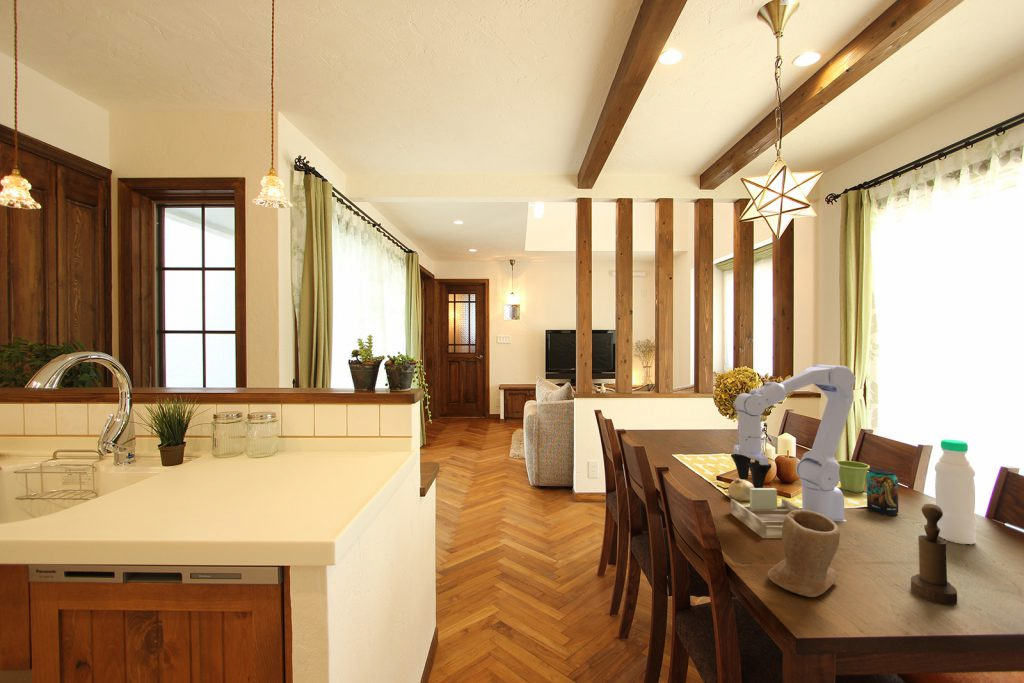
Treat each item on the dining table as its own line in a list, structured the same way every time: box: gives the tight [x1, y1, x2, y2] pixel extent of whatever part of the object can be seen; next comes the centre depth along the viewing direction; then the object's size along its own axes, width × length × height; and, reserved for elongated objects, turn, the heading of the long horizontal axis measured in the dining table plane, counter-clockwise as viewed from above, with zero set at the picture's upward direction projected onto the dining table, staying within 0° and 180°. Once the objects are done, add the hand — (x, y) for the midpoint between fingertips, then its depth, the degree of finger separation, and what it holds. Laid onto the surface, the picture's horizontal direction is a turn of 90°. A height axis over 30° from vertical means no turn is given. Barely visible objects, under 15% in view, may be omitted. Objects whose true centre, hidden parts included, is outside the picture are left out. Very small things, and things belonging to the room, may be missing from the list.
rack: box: [730, 498, 803, 539], centre depth 117 cm, size 16×16×5 cm
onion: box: [727, 477, 754, 502], centre depth 136 cm, size 8×8×7 cm
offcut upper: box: [755, 514, 786, 521], centre depth 117 cm, size 4×10×1 cm, turn 86°
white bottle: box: [934, 439, 977, 545], centre depth 108 cm, size 7×7×25 cm
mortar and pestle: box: [910, 503, 958, 606], centre depth 84 cm, size 7×6×18 cm
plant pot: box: [836, 460, 871, 493], centre depth 145 cm, size 9×9×9 cm
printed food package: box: [866, 467, 899, 516], centre depth 126 cm, size 7×7×12 cm
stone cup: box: [767, 510, 841, 598], centre depth 89 cm, size 15×12×15 cm
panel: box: [749, 487, 778, 510], centre depth 122 cm, size 1×7×8 cm, turn 90°
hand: (750, 483), depth 122 cm, fingers open, 7 cm apart
